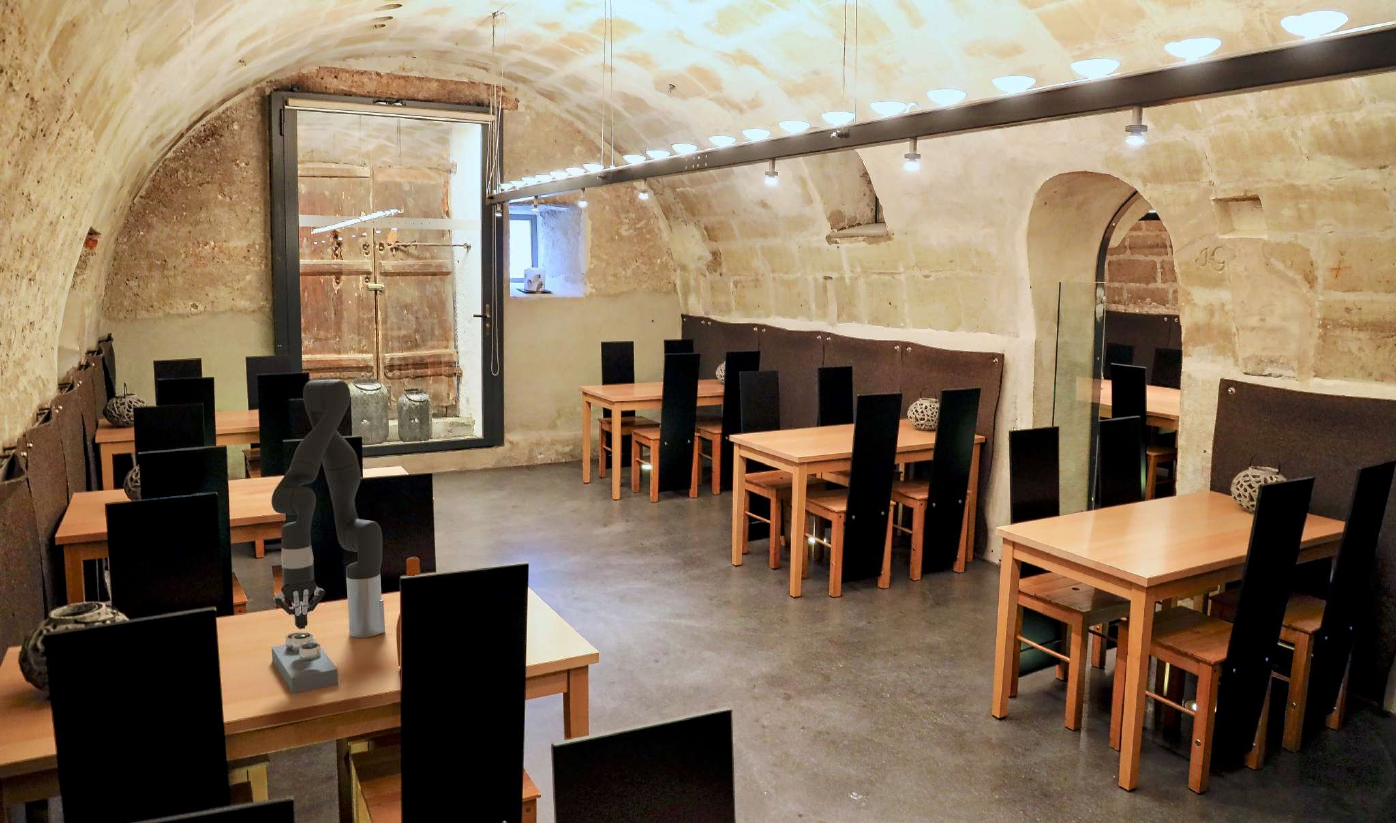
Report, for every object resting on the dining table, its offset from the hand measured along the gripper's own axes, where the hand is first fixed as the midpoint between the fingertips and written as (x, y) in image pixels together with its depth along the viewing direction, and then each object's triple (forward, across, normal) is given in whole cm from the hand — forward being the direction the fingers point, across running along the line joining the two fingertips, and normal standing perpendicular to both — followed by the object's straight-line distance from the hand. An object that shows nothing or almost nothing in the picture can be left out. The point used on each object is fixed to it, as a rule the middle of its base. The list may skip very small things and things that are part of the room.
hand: (301, 628), depth 266 cm
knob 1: (+8, 0, -8) cm, 12 cm away
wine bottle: (+12, -26, +13) cm, 31 cm away
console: (+12, 0, 0) cm, 12 cm away
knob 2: (+5, 0, 0) cm, 5 cm away
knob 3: (+5, 0, +9) cm, 10 cm away
